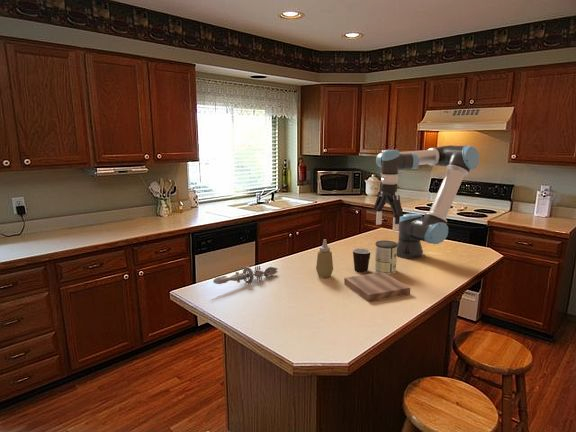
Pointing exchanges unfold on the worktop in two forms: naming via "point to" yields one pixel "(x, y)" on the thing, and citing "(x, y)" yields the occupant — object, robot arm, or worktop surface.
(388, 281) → the walnut block
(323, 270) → the squeeze bottle
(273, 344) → the worktop surface
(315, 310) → the worktop surface
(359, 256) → the coffee mug
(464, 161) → the robot arm
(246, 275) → the spaceship
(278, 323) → the worktop surface
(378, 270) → the coffee can
